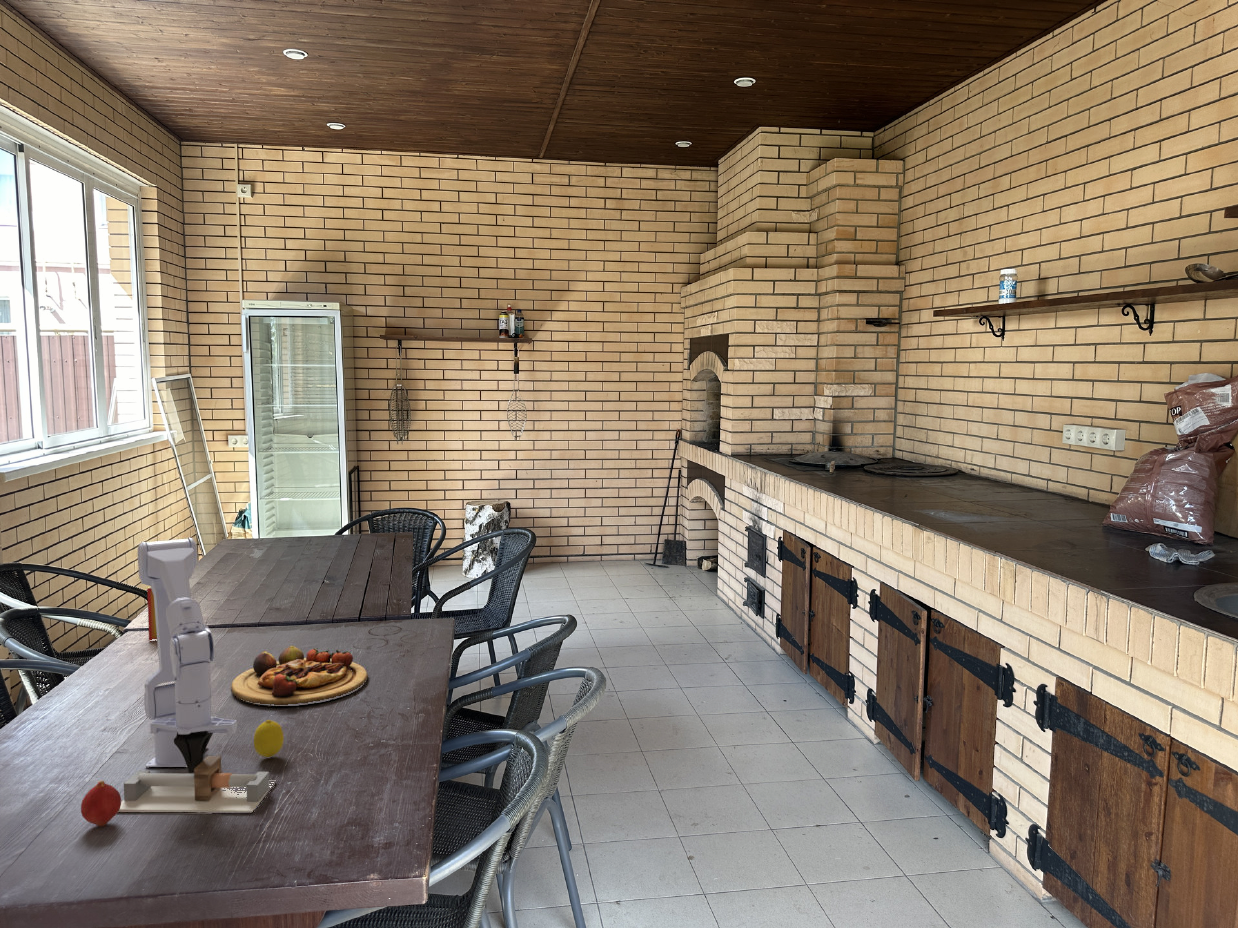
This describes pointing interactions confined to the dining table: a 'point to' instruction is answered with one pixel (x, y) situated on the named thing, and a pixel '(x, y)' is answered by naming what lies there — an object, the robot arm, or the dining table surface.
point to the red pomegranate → (101, 804)
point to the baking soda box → (151, 615)
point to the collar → (206, 777)
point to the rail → (192, 792)
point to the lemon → (268, 738)
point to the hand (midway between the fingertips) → (195, 770)
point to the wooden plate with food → (298, 677)
